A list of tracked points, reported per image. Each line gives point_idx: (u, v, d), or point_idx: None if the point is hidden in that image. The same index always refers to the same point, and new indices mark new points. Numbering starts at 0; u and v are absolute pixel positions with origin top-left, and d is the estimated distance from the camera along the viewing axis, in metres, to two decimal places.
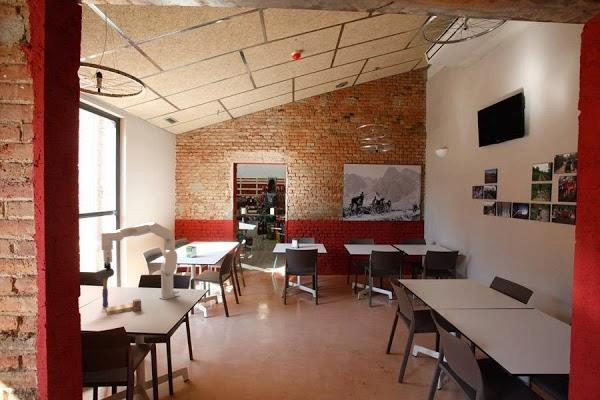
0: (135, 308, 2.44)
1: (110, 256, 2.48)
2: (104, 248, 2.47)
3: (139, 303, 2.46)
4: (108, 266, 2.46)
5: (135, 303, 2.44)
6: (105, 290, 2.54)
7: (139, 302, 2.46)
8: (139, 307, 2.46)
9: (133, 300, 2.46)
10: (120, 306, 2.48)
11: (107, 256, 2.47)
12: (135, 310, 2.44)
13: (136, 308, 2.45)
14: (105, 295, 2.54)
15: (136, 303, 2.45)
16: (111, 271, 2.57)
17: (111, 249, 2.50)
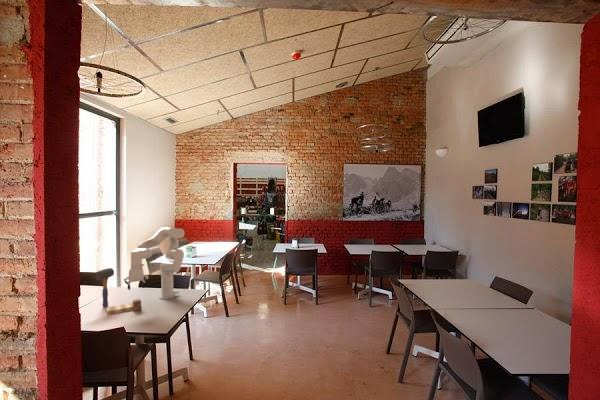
0: (135, 308, 2.44)
1: None
2: (141, 266, 2.46)
3: (139, 303, 2.46)
4: None
5: (135, 303, 2.44)
6: (105, 290, 2.54)
7: (139, 302, 2.46)
8: (139, 307, 2.46)
9: (133, 300, 2.46)
10: (120, 306, 2.48)
11: (143, 273, 2.49)
12: (135, 310, 2.44)
13: (136, 308, 2.45)
14: (105, 295, 2.54)
15: (136, 303, 2.45)
16: (111, 271, 2.57)
17: None
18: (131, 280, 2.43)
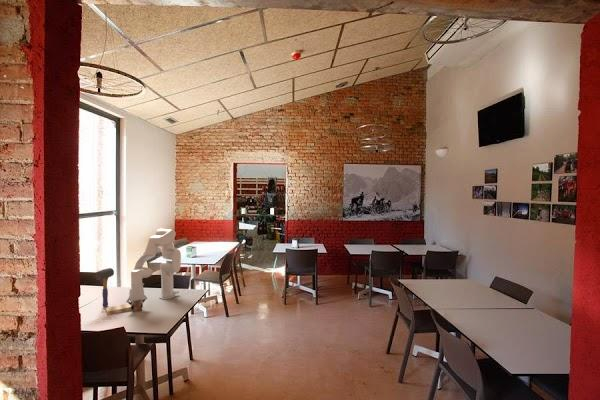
0: (135, 308, 2.44)
1: None
2: (141, 285, 2.47)
3: (139, 303, 2.46)
4: None
5: (135, 303, 2.44)
6: (105, 290, 2.54)
7: (139, 302, 2.46)
8: (139, 307, 2.46)
9: None
10: (120, 306, 2.48)
11: None
12: (135, 310, 2.44)
13: (136, 308, 2.45)
14: (105, 295, 2.54)
15: (136, 303, 2.45)
16: (111, 271, 2.57)
17: None
18: (132, 300, 2.43)
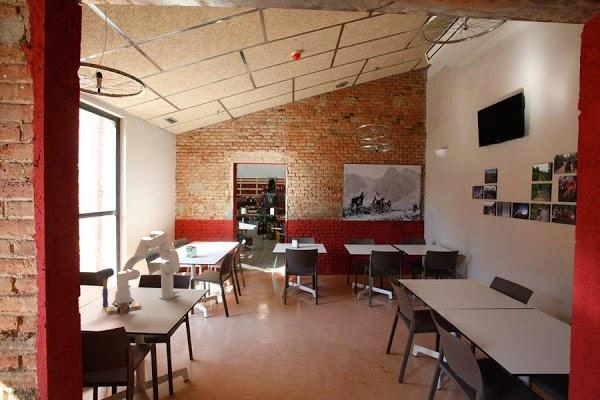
0: (121, 310, 2.39)
1: None
2: (127, 288, 2.41)
3: (125, 305, 2.41)
4: None
5: (121, 305, 2.39)
6: (105, 290, 2.54)
7: (125, 304, 2.41)
8: (125, 309, 2.41)
9: None
10: None
11: (130, 295, 2.44)
12: (121, 313, 2.39)
13: (122, 311, 2.39)
14: (105, 295, 2.54)
15: (122, 305, 2.39)
16: (111, 271, 2.57)
17: None
18: (118, 302, 2.38)
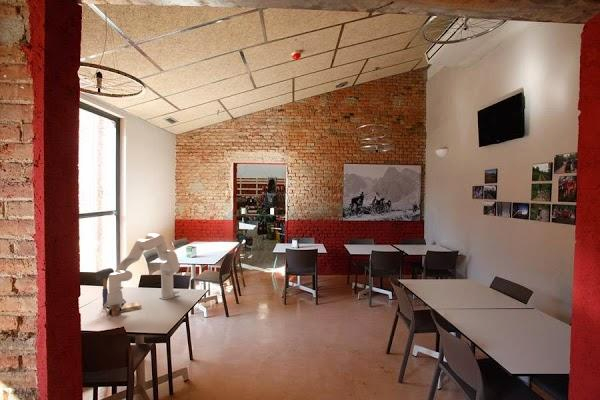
0: (113, 312, 2.36)
1: None
2: (119, 289, 2.38)
3: (117, 307, 2.37)
4: None
5: (113, 307, 2.36)
6: (105, 290, 2.54)
7: (117, 306, 2.37)
8: (117, 311, 2.37)
9: None
10: None
11: (122, 297, 2.41)
12: (113, 314, 2.36)
13: (114, 313, 2.36)
14: (105, 295, 2.54)
15: (114, 307, 2.36)
16: (111, 271, 2.57)
17: None
18: (109, 304, 2.35)
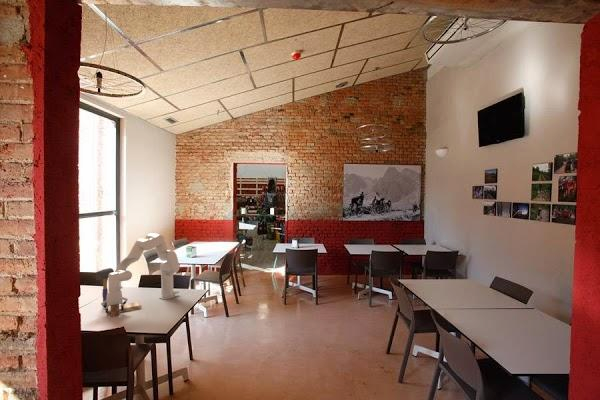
0: (113, 312, 2.36)
1: None
2: (119, 289, 2.38)
3: (117, 307, 2.37)
4: (123, 306, 2.42)
5: (113, 307, 2.36)
6: (105, 290, 2.54)
7: (117, 306, 2.37)
8: (117, 311, 2.37)
9: None
10: (120, 306, 2.48)
11: None
12: (113, 314, 2.36)
13: (114, 313, 2.36)
14: (105, 295, 2.54)
15: (114, 307, 2.36)
16: (111, 271, 2.57)
17: None
18: (109, 304, 2.35)
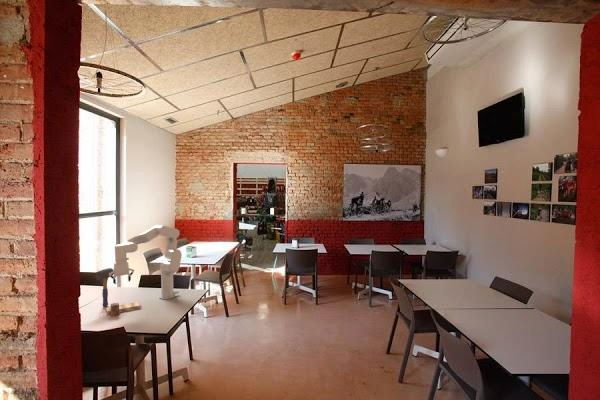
0: (113, 312, 2.36)
1: None
2: (125, 260, 2.45)
3: (117, 307, 2.37)
4: None
5: (113, 307, 2.36)
6: (105, 290, 2.54)
7: (117, 306, 2.37)
8: (117, 311, 2.37)
9: (111, 304, 2.38)
10: (120, 306, 2.48)
11: (128, 267, 2.47)
12: (113, 314, 2.36)
13: (114, 313, 2.36)
14: (105, 295, 2.54)
15: (114, 307, 2.36)
16: (111, 271, 2.57)
17: None
18: (116, 274, 2.41)
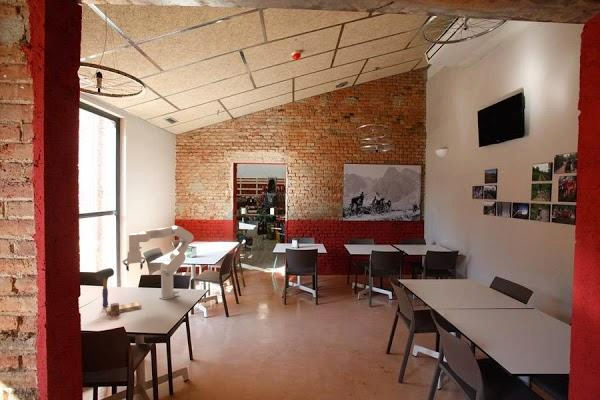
0: (113, 312, 2.36)
1: None
2: (138, 249, 2.59)
3: (117, 307, 2.37)
4: None
5: (113, 307, 2.36)
6: (105, 290, 2.54)
7: (117, 306, 2.37)
8: (117, 311, 2.37)
9: (111, 304, 2.38)
10: (120, 306, 2.48)
11: None
12: (113, 314, 2.36)
13: (114, 313, 2.36)
14: (105, 295, 2.54)
15: (114, 307, 2.36)
16: (111, 271, 2.57)
17: None
18: (129, 262, 2.55)
